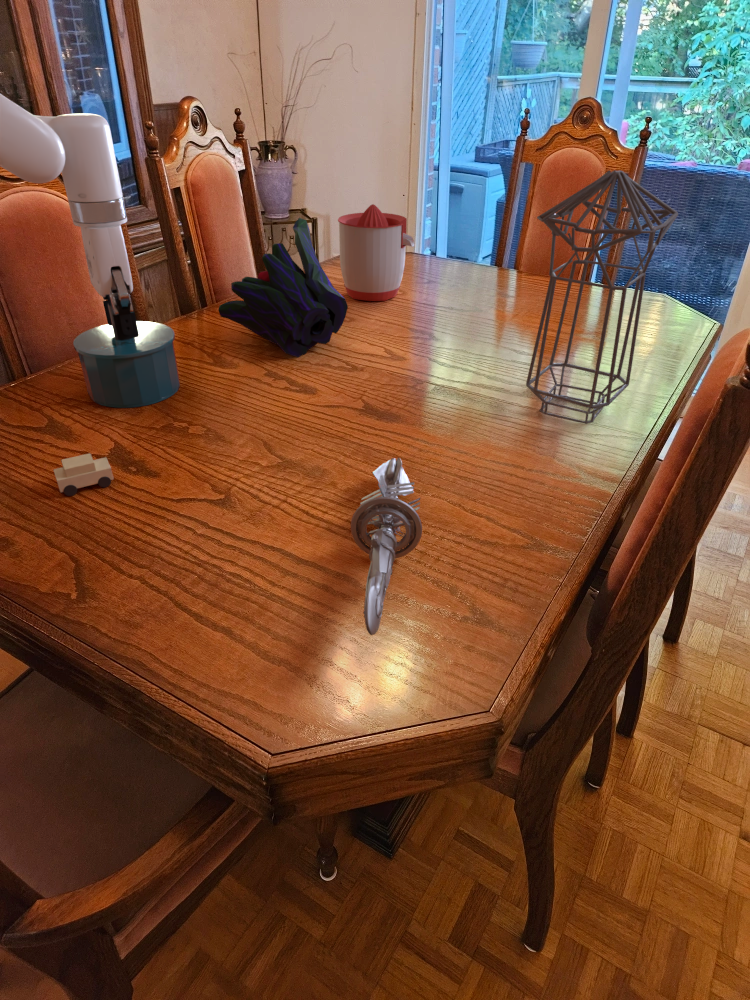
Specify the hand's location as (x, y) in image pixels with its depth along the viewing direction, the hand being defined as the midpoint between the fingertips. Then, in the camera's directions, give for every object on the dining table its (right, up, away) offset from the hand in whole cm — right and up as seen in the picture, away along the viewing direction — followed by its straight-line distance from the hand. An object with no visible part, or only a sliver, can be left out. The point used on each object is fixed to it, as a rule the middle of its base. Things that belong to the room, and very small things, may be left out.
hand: (123, 329), depth 107 cm
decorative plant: (+22, +5, +27) cm, 35 cm away
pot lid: (0, -1, +1) cm, 2 cm away
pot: (0, -9, +6) cm, 10 cm away
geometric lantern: (+72, -13, 0) cm, 73 cm away
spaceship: (+42, -34, -31) cm, 62 cm away
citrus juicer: (+41, +21, +51) cm, 68 cm away
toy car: (+3, -25, -19) cm, 32 cm away
